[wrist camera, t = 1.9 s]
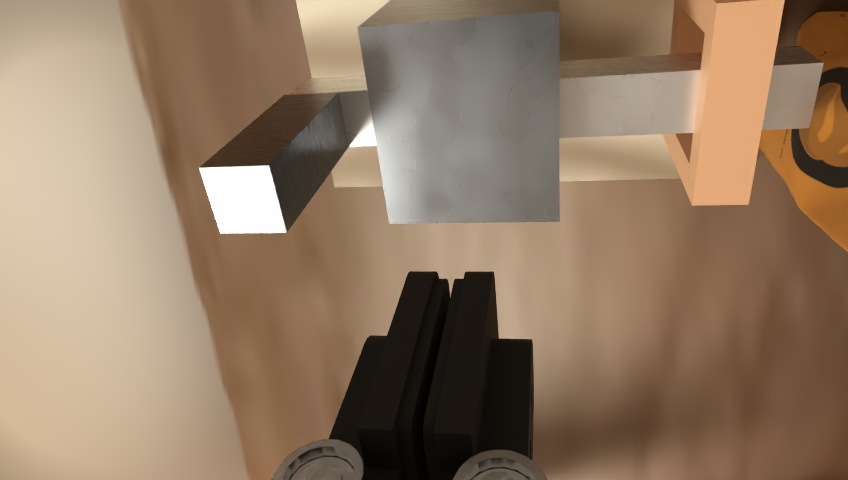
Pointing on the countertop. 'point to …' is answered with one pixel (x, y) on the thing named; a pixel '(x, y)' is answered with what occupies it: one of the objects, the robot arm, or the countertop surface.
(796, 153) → the coffee package
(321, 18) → the board
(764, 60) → the collar
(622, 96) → the l-shaped metal bar
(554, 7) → the metal block
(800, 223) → the countertop surface
